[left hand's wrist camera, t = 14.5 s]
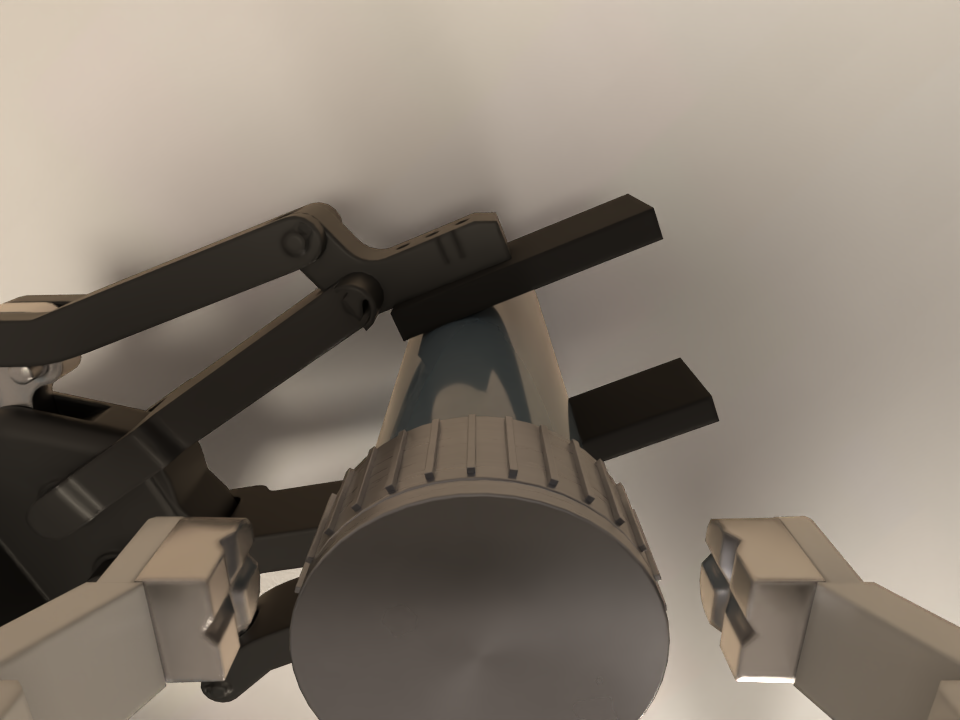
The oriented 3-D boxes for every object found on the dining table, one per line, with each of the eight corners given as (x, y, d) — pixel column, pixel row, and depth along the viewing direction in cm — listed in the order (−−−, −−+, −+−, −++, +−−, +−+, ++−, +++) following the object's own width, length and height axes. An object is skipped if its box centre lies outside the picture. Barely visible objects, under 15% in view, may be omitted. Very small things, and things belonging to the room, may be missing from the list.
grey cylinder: (416, 255, 23) (305, 503, 8) (537, 249, 23) (638, 489, 8) (425, 367, 24) (346, 741, 10) (539, 362, 24) (626, 731, 10)
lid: (309, 654, 11) (272, 770, 9) (335, 385, 9) (295, 459, 7) (597, 690, 12) (621, 811, 10) (676, 437, 10) (727, 522, 8)
